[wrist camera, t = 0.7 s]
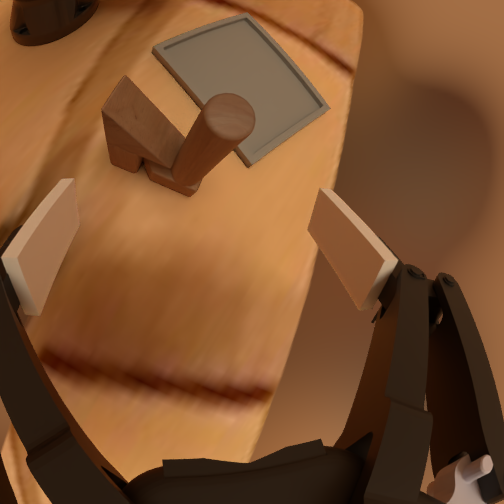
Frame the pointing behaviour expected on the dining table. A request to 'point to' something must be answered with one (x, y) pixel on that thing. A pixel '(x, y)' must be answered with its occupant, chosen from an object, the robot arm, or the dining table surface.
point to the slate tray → (244, 78)
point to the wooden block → (173, 136)
